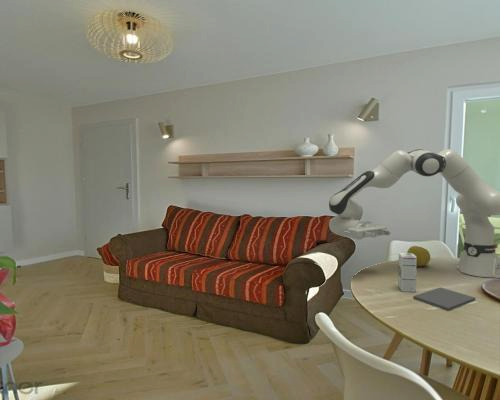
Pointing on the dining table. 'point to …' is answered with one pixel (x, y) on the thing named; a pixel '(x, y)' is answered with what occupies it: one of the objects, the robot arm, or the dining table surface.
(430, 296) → the placemat
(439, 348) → the dining table surface
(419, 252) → the fruit
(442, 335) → the dining table surface
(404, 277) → the syrup box
